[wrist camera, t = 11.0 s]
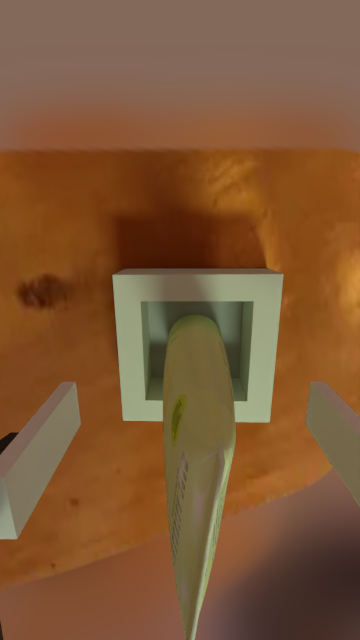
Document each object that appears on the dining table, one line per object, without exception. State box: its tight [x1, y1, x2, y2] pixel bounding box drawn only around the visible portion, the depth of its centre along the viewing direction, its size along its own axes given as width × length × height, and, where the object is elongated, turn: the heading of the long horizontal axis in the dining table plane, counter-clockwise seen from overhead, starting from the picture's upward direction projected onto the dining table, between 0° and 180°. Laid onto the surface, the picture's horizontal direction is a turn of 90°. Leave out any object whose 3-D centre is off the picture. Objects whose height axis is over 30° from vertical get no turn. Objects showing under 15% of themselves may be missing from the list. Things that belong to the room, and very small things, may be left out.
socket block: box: [112, 268, 283, 422], centre depth 25 cm, size 12×12×4 cm
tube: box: [163, 315, 236, 640], centre depth 17 cm, size 6×5×20 cm
